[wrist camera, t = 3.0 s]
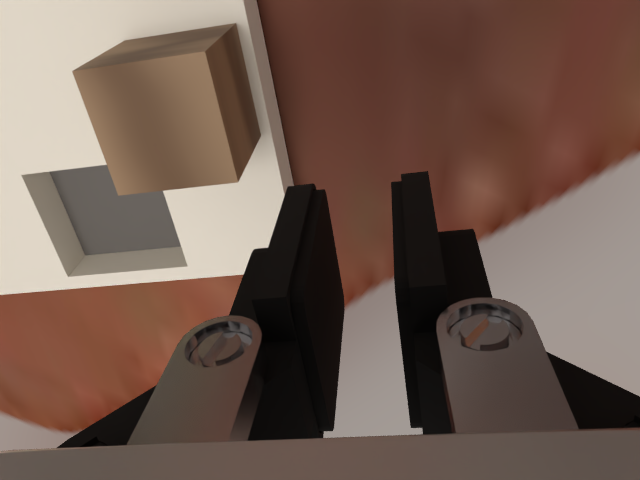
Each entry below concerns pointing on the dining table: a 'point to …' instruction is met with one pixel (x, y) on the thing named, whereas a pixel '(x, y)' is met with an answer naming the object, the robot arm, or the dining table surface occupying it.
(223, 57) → the walnut block
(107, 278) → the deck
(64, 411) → the dining table surface
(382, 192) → the dining table surface
